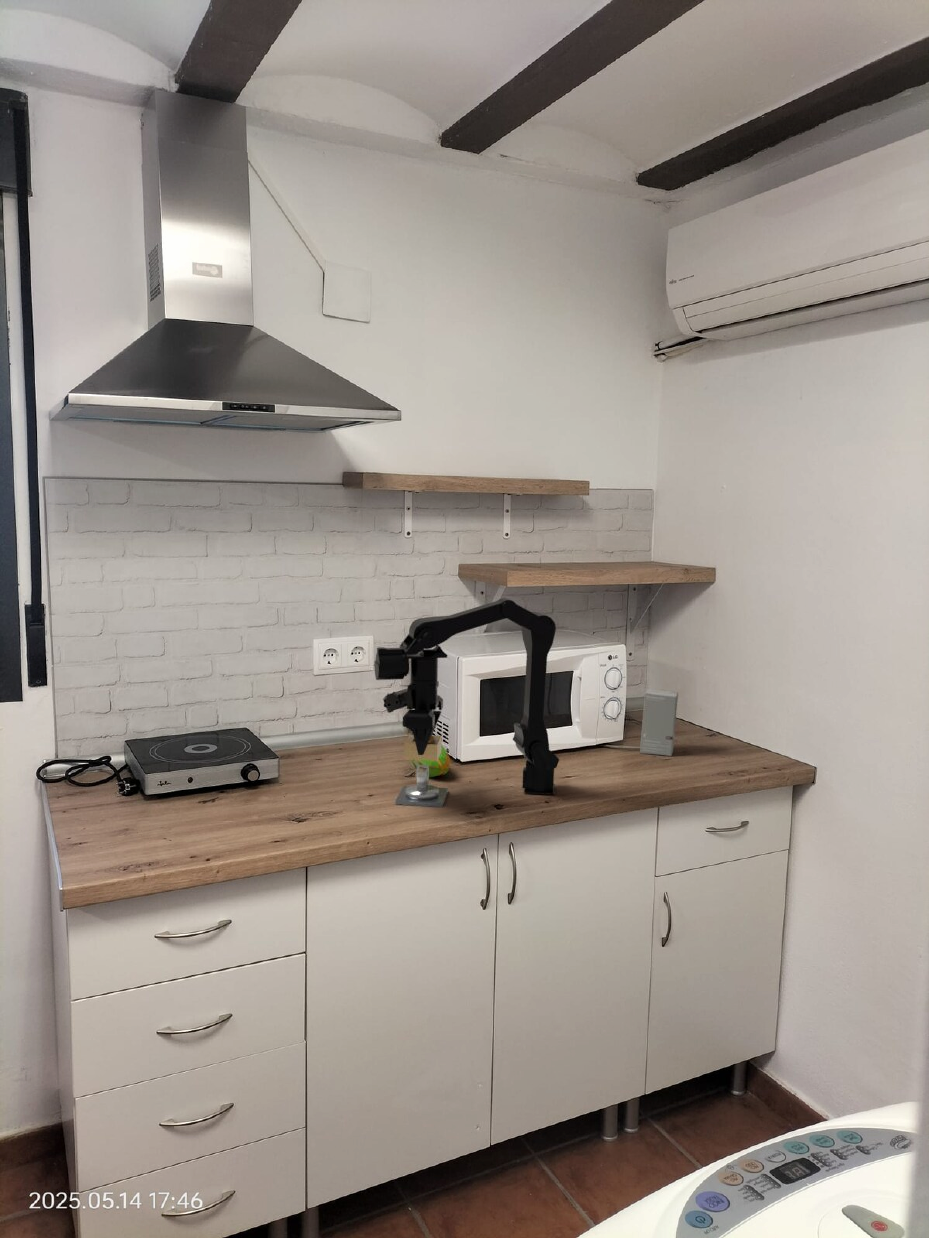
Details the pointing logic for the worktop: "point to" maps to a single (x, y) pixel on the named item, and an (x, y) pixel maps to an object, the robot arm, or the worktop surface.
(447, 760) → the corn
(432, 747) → the collar
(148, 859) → the worktop surface
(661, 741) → the skincare box
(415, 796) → the post
